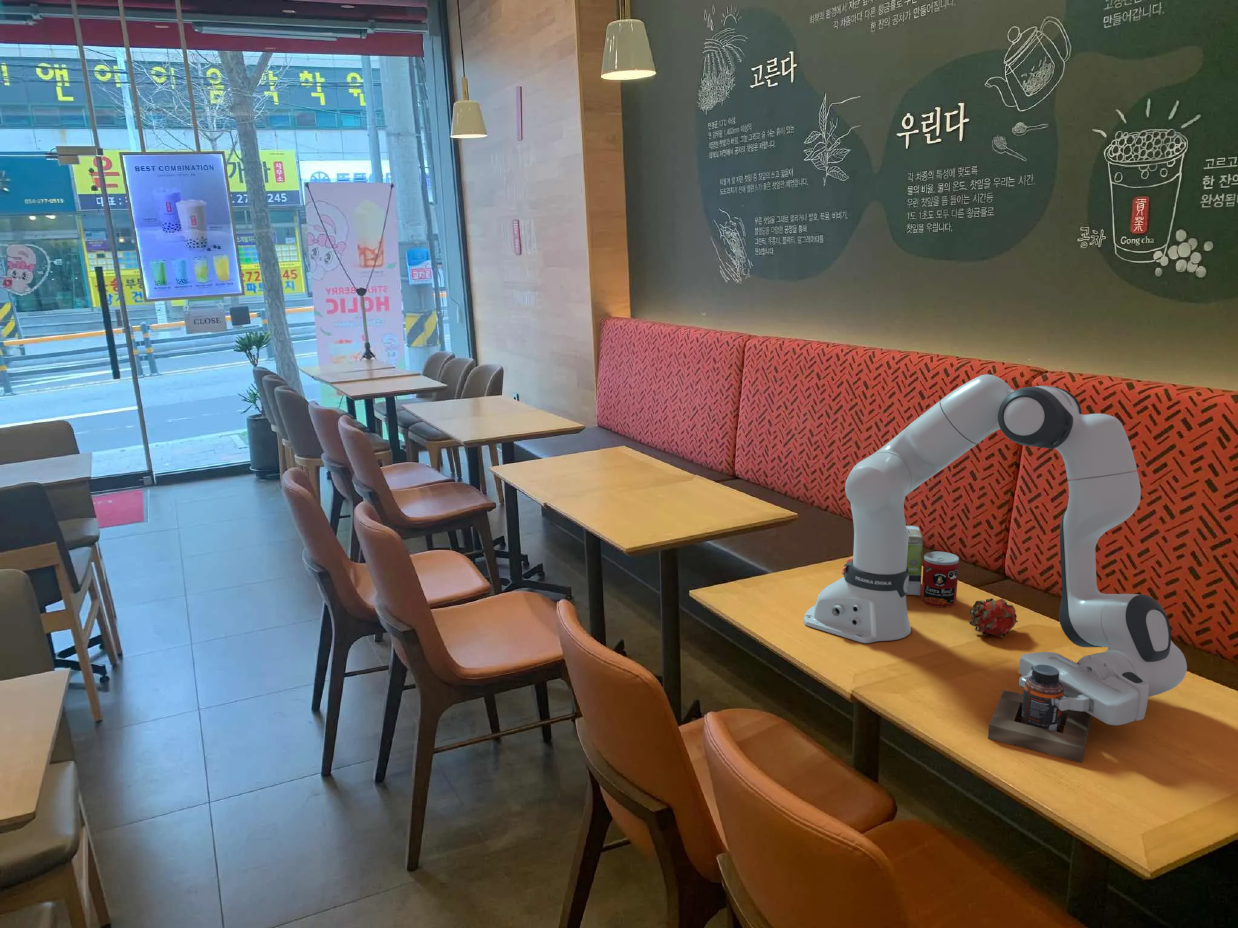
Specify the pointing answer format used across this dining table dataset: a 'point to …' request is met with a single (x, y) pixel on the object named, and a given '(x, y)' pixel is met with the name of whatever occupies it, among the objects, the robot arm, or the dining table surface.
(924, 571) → the canned food
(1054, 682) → the supplement bottle
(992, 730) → the walnut socket block
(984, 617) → the dragon fruit
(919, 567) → the tea box
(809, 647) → the dining table surface
